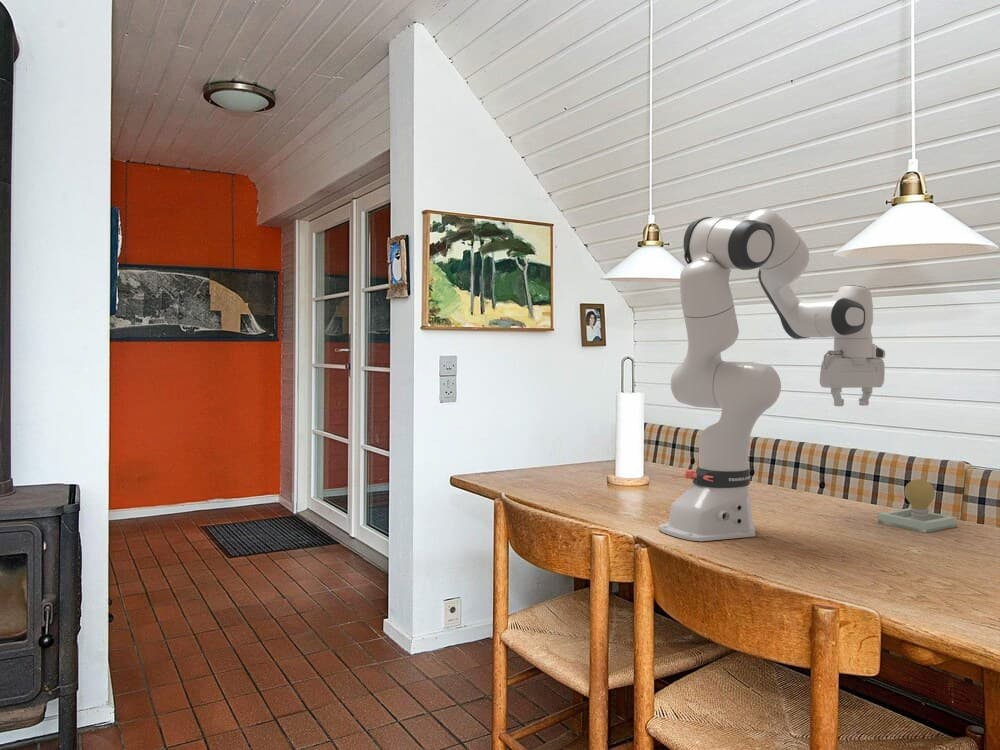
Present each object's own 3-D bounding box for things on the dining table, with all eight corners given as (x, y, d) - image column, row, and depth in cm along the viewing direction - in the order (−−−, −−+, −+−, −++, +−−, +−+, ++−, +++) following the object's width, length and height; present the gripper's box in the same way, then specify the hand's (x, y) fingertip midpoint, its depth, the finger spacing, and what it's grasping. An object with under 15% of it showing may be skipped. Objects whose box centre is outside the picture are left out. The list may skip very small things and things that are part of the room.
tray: (926, 532, 176) (926, 523, 176) (877, 522, 187) (877, 513, 187) (956, 526, 182) (957, 517, 182) (908, 516, 192) (908, 508, 192)
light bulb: (904, 523, 184) (904, 481, 183) (904, 517, 189) (904, 476, 189) (935, 525, 181) (935, 482, 180) (934, 519, 186) (934, 478, 186)
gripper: (835, 350, 187) (834, 407, 187) (889, 351, 197) (888, 405, 197) (813, 350, 192) (812, 405, 193) (867, 351, 202) (866, 404, 202)
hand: (851, 405), depth 195 cm, fingers open, 8 cm apart
